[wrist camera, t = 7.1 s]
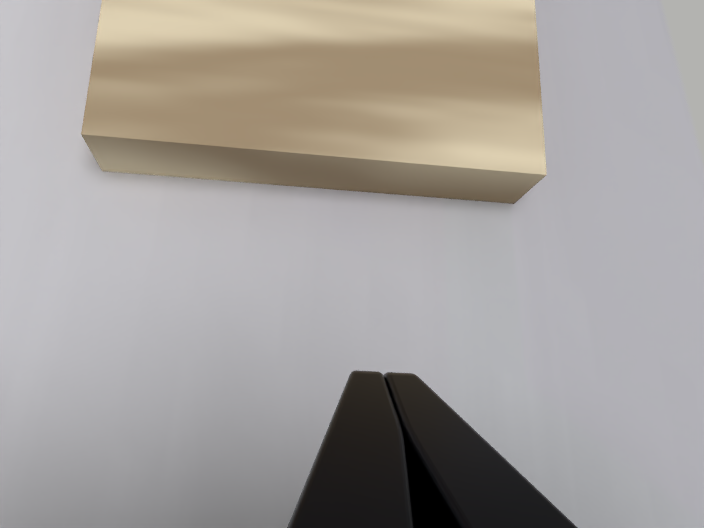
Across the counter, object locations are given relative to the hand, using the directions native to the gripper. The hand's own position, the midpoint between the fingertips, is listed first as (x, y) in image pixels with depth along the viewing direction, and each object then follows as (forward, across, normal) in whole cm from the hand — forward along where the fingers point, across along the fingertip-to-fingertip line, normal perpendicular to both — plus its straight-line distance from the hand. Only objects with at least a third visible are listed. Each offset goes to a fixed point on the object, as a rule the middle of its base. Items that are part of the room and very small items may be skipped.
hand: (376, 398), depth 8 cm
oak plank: (+13, 0, +1) cm, 13 cm away
